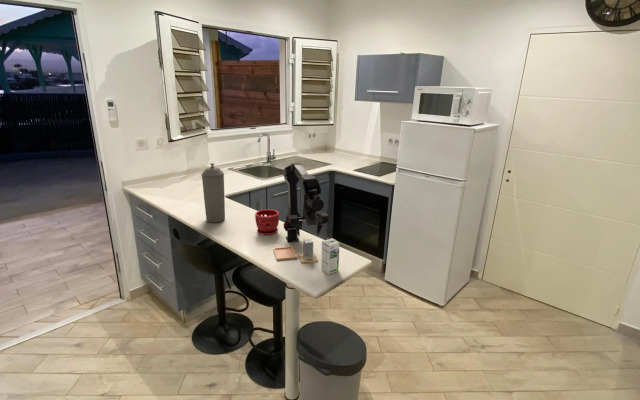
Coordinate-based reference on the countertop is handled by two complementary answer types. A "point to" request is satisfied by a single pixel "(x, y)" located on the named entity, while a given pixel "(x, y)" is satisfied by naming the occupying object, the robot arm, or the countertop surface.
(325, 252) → the syrup box
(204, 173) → the canister
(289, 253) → the tray
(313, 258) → the stud base
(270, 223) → the plant pot
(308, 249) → the strut
